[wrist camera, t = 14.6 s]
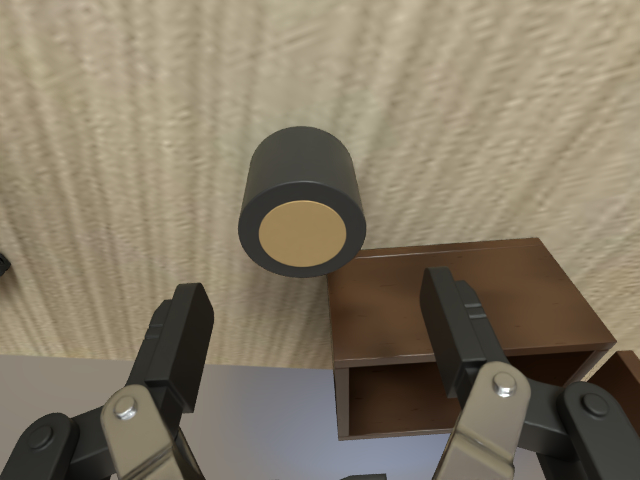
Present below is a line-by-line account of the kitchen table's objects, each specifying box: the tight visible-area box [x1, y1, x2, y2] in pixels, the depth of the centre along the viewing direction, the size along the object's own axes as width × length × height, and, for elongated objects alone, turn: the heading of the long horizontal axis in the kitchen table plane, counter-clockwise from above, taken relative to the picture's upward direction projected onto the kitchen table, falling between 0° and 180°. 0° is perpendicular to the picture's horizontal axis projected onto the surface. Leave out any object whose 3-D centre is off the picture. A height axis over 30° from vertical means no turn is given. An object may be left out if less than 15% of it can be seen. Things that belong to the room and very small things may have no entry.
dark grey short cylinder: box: [238, 126, 366, 278], centre depth 17 cm, size 6×6×5 cm
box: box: [327, 238, 617, 441], centre depth 24 cm, size 14×11×8 cm
